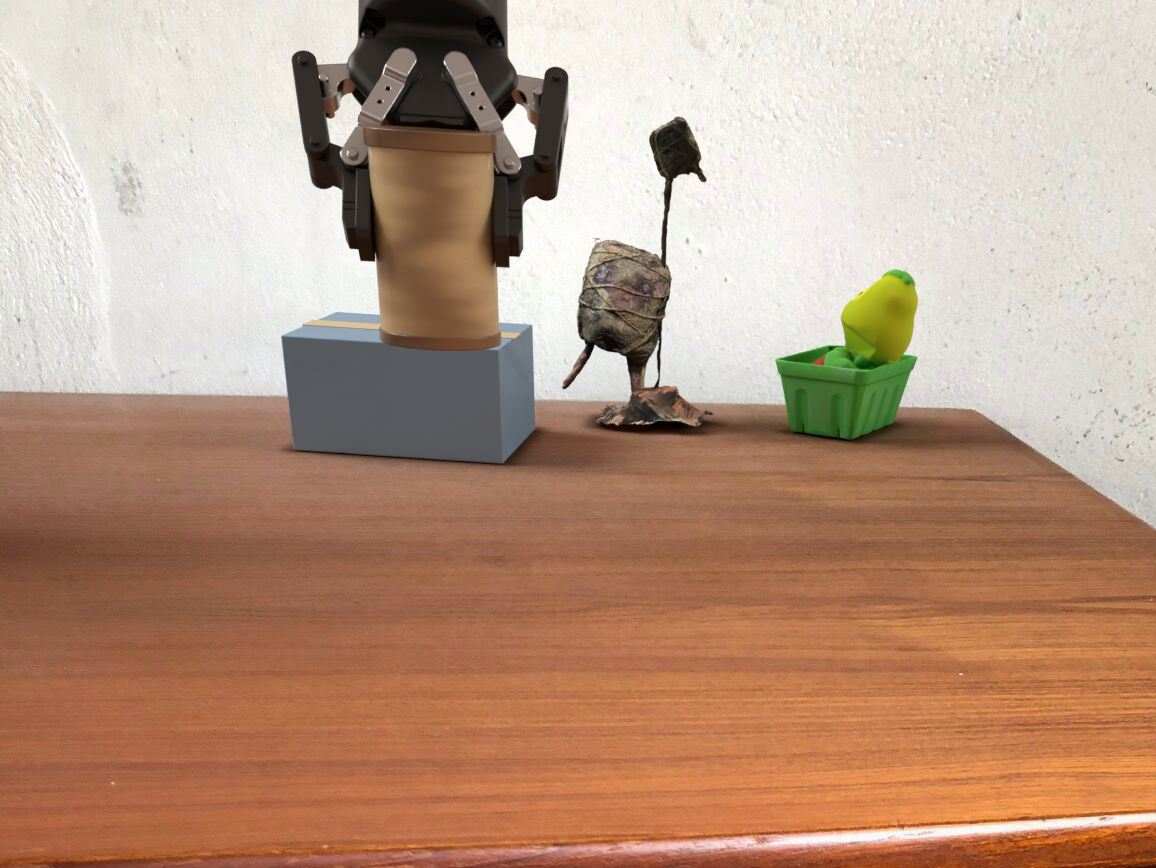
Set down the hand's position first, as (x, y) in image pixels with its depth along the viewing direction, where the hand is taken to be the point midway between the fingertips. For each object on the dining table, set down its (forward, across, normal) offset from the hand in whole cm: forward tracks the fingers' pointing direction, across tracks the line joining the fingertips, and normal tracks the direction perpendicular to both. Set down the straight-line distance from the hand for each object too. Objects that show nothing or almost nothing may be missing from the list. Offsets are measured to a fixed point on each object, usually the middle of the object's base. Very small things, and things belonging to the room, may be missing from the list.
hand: (433, 252), depth 74 cm
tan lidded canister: (+2, 0, -4) cm, 5 cm away
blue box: (-10, +4, -30) cm, 31 cm away
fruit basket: (-16, -28, -36) cm, 48 cm away
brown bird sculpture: (-15, -12, -36) cm, 41 cm away
